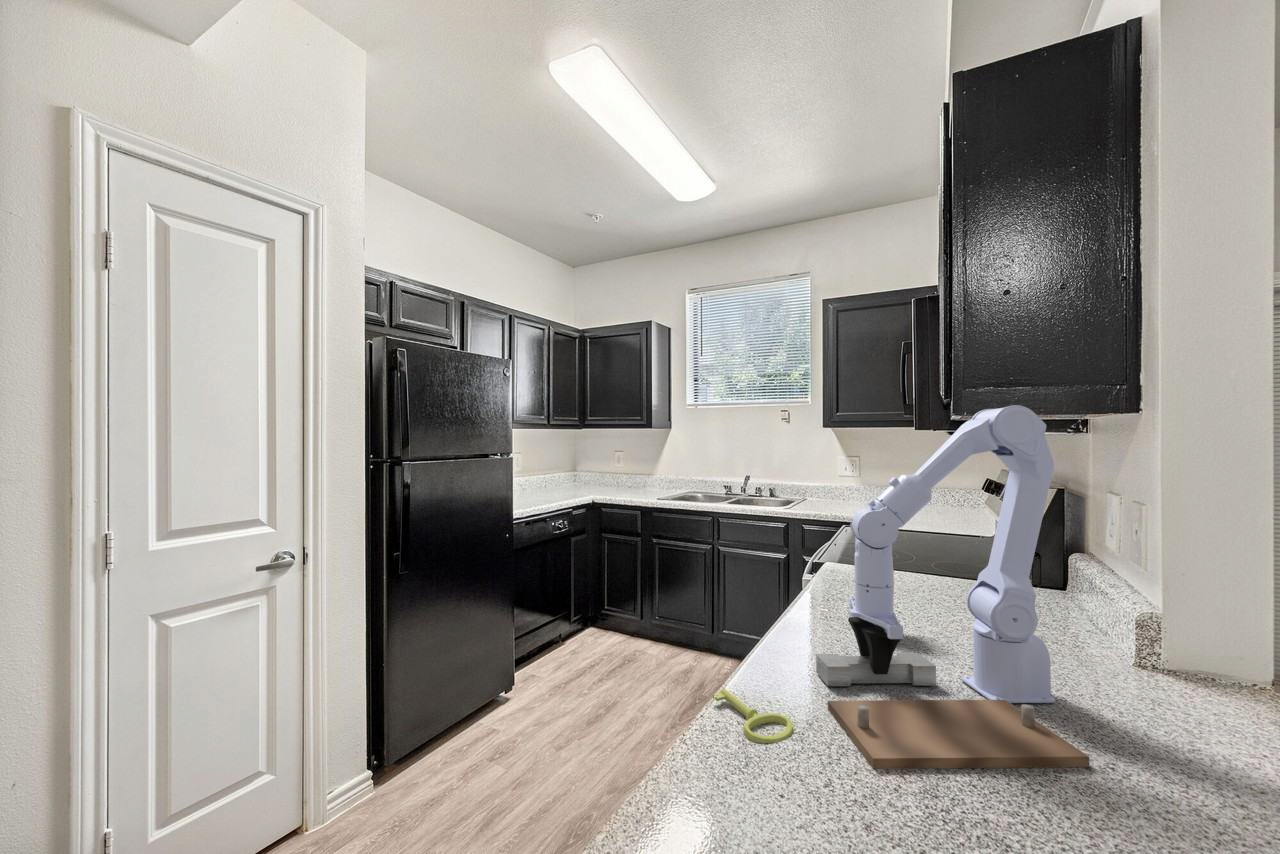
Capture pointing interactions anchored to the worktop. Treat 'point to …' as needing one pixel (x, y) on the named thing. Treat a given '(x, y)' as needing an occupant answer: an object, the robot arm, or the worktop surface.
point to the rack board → (952, 734)
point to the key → (757, 719)
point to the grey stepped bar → (860, 671)
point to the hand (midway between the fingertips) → (874, 668)
